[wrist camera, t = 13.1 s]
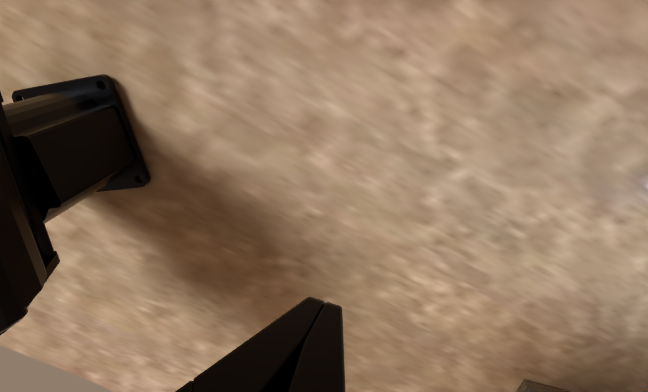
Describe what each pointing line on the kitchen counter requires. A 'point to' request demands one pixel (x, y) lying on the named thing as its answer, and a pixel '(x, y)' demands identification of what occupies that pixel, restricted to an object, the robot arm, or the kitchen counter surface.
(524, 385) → the hinge post
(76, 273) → the kitchen counter surface
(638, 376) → the kitchen counter surface
